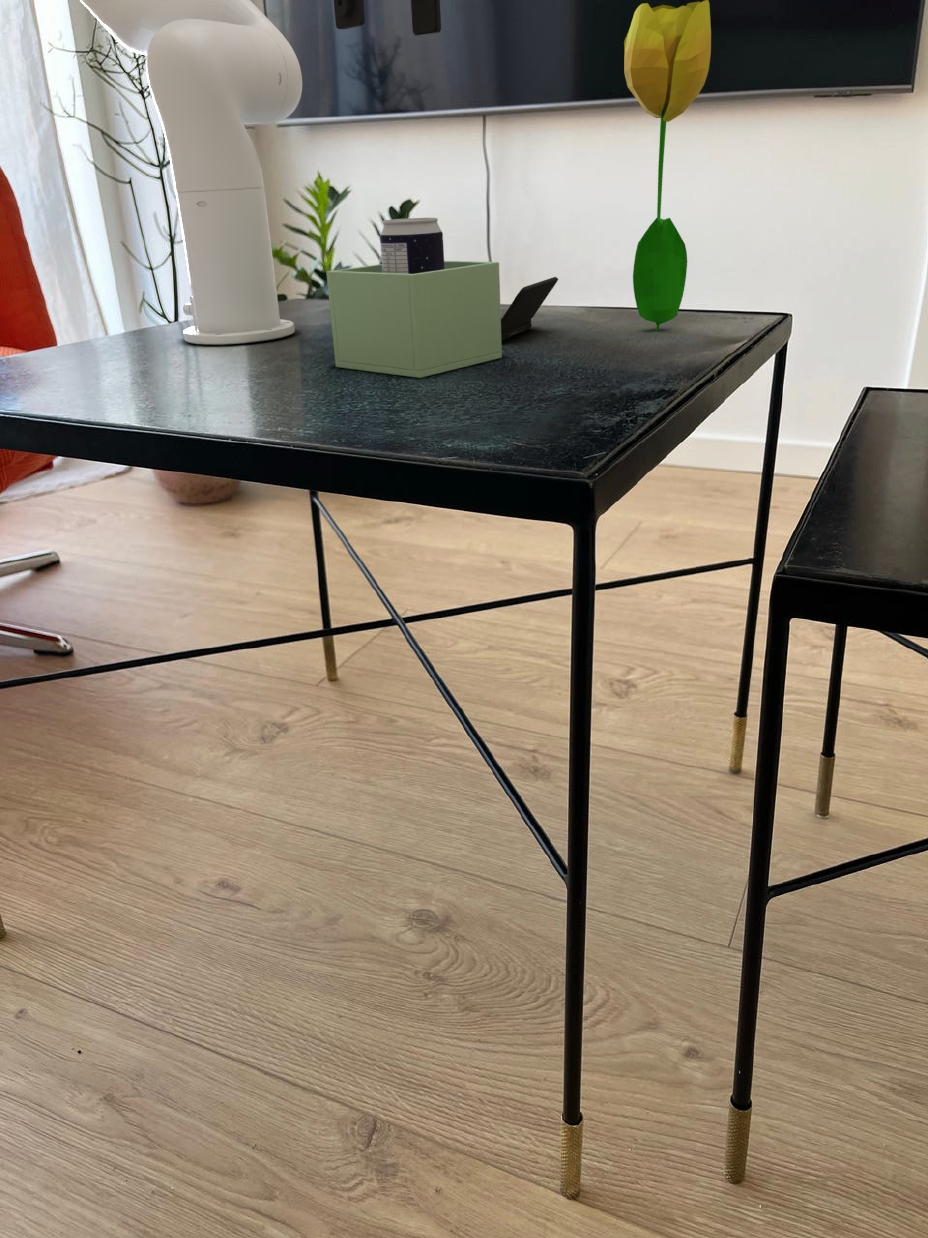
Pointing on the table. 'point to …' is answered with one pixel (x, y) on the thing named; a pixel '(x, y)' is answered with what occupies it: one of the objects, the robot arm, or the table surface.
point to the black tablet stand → (525, 307)
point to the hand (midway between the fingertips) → (390, 30)
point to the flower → (664, 86)
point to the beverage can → (411, 246)
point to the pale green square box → (415, 318)
